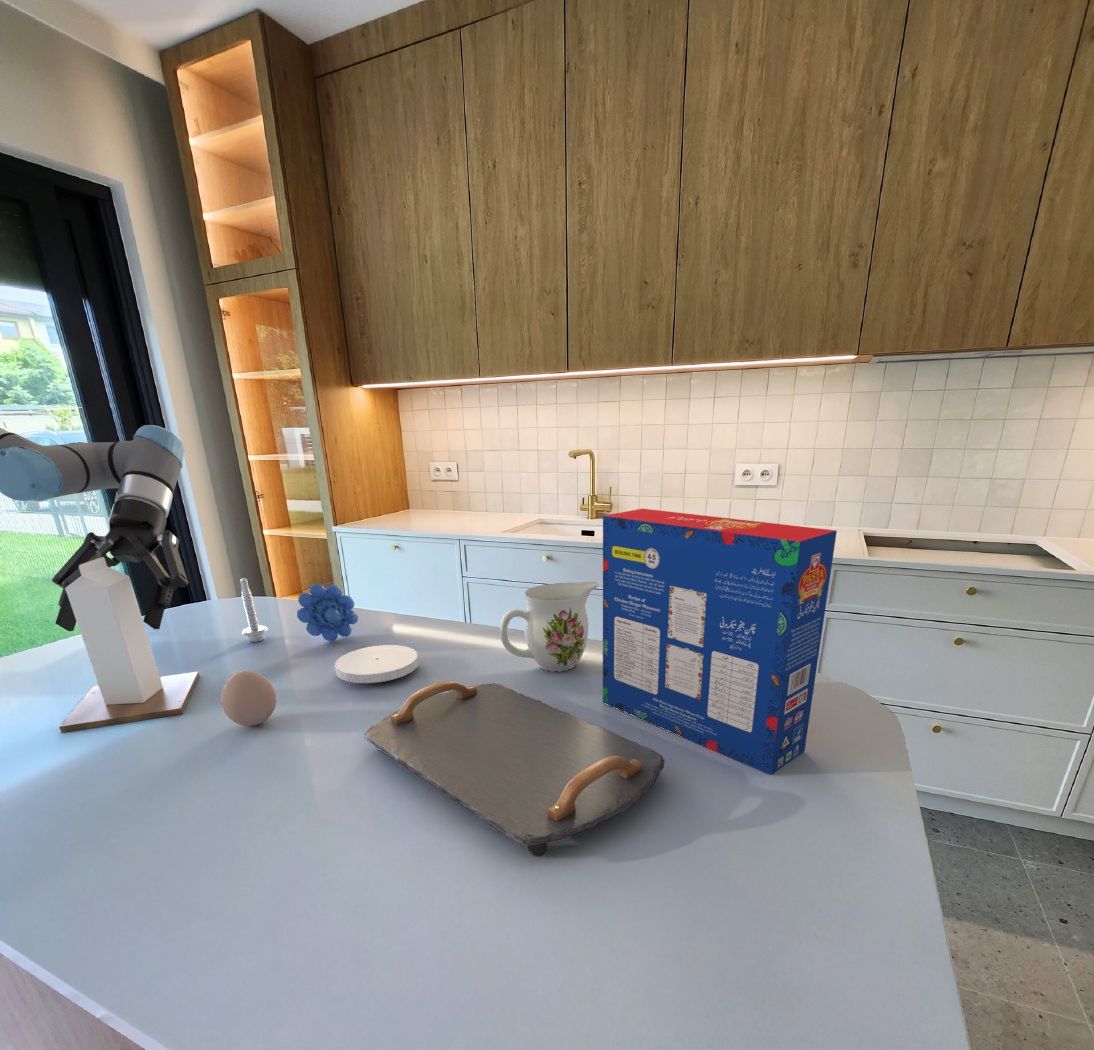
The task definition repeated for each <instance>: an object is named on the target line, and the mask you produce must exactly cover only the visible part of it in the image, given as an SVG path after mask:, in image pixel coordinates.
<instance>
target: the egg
mask: <svg viewBox="0 0 1094 1050" xmlns="http://www.w3.org/2000/svg"><path fill="white" fill-rule="evenodd" d="M224 683H225V684H224V686H223V688H222V692H221V696H220V700H221V707H222V710H223V712H224V714H225V716H226V717H228V719H229V720H231V721H233V723H235V724H238V725H240V726H244V727H254V726H255V727H256V726H258V725H262V724H263V723H264V722H266V721H267V720H268V719H269V718H270V717H271V716H272V714H273V713H274V710H275V709H276V706H277V695H276V691H275V689H274V687H273V685H272V684H271V682H270V681H269V680H268V679H267V678H266V677H265V676H263V675H262V674H260V673H259V672H256V671H254V670H249V669H248V670H247V669H245V670H244V669H243V670H240V671H237V672H235V673H233V674H232V675H231V676H230V677H229V678H228V679H227V680H226V681H225V682H224Z"/></svg>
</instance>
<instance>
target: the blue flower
mask: <svg viewBox="0 0 1094 1050" xmlns="http://www.w3.org/2000/svg"><path fill="white" fill-rule="evenodd" d="M298 603H299V605H300V606H301V607H300V608H298V610H297V611H296V617H297V619H298V620H299V621H300V622H301V623H303V624H306V631H307V633H308V634H309V635H310V636H312V637H319V636H322V638H323V639H324V640H325V641H327V642H335V641H336V640H337V639H338V638H339V637H338V636H340V637H349V636H350V635H351V634H352V627H351V626H350V625H355V624H357V623H358V620H359V616H358V614H357V613H356V612H355V611H354V610H352V609H354V607H355V601H354V599H353V598H352V596H349V595H343V591H342V589H341V588H340V586H338V585H336V584H330V585H328V586H327V587H326V588H325V587H324V585H322V584H321V583H313V584H312V585H311V586H310V587H309V593H308V592H302V593H300V594H299V595H298Z"/></svg>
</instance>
